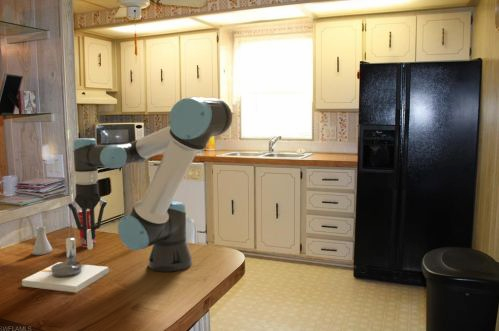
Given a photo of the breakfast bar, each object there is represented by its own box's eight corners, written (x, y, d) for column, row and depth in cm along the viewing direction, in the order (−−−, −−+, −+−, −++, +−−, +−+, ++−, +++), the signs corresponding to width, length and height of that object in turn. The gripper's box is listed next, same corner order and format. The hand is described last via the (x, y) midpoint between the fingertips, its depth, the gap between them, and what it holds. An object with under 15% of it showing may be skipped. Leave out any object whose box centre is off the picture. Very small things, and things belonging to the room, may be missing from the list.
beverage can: (93, 247, 175) (91, 211, 174) (77, 247, 176) (74, 211, 174) (98, 243, 181) (96, 208, 179) (82, 243, 181) (80, 208, 180)
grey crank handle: (79, 275, 139) (78, 251, 138) (49, 278, 137) (47, 253, 136) (85, 258, 155) (84, 236, 154) (58, 260, 153) (57, 238, 152)
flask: (44, 256, 166) (42, 230, 165) (27, 254, 167) (26, 229, 166) (56, 250, 173) (54, 225, 172) (40, 249, 174) (38, 224, 173)
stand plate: (108, 272, 148) (108, 266, 148) (76, 292, 132) (76, 285, 132) (59, 267, 153) (58, 261, 153) (22, 286, 137) (21, 279, 137)
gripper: (107, 180, 156) (110, 243, 159) (68, 181, 153) (72, 246, 156) (105, 183, 149) (108, 249, 152) (65, 185, 146) (68, 252, 149)
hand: (90, 248), depth 154 cm, fingers closed
